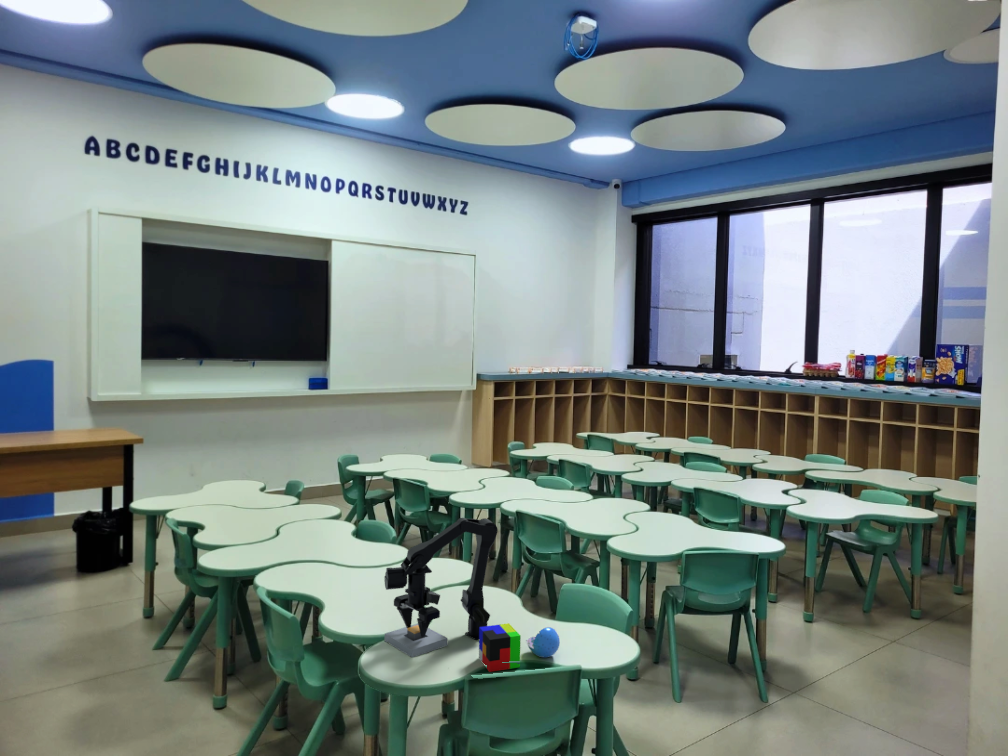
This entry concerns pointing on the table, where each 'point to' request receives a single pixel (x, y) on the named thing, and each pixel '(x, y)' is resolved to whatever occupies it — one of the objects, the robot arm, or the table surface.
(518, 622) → the table surface
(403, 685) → the table surface
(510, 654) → the puzzle toy
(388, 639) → the plate
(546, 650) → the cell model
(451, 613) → the table surface
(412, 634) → the orange-topped grey block
